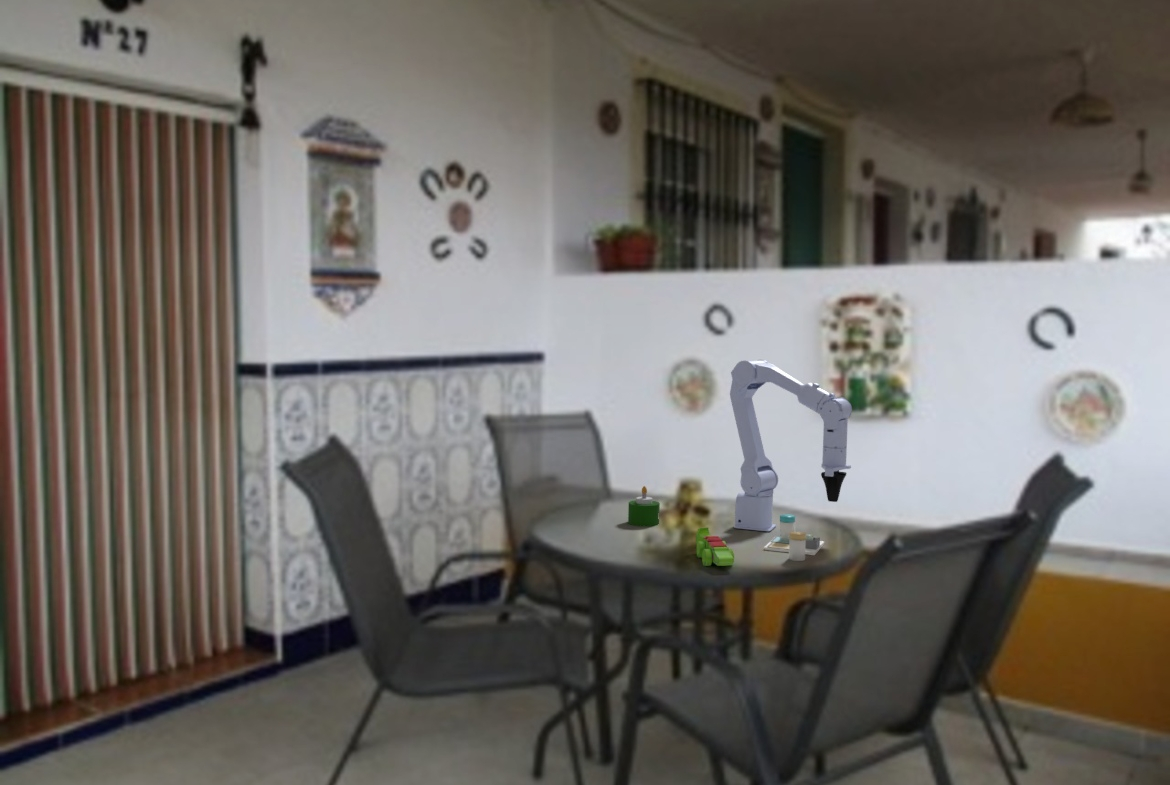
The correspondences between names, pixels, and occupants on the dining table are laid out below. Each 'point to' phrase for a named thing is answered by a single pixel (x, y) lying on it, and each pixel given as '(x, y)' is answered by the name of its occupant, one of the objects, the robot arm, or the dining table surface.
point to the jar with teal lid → (786, 526)
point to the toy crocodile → (713, 549)
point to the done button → (809, 537)
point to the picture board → (781, 546)
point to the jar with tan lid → (797, 546)
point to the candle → (643, 511)
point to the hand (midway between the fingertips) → (832, 501)
